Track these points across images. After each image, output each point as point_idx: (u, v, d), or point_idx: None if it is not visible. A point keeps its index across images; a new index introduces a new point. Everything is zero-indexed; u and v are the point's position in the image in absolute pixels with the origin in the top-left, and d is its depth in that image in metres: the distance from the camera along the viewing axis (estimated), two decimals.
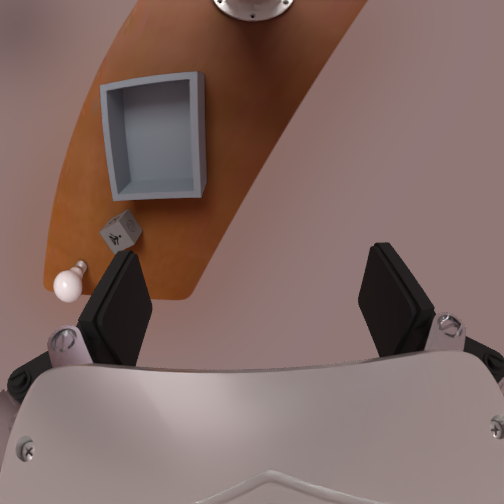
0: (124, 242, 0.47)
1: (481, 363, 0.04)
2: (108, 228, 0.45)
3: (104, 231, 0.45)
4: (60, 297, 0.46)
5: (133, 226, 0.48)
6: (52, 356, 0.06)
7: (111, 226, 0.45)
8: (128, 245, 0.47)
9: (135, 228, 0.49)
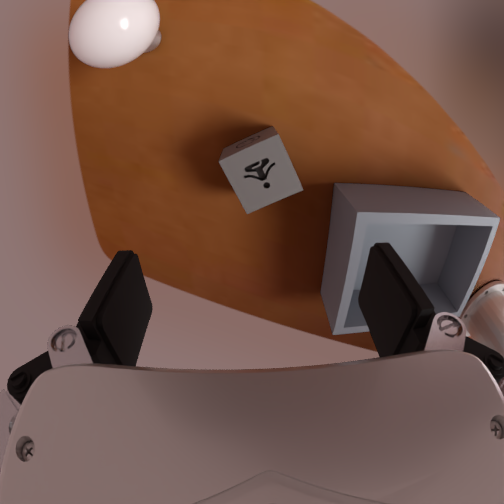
0: (251, 192, 0.23)
1: (481, 363, 0.04)
2: (287, 161, 0.21)
3: (280, 149, 0.21)
4: (88, 15, 0.10)
5: None
6: (52, 356, 0.06)
7: (292, 170, 0.22)
8: (243, 200, 0.23)
9: None
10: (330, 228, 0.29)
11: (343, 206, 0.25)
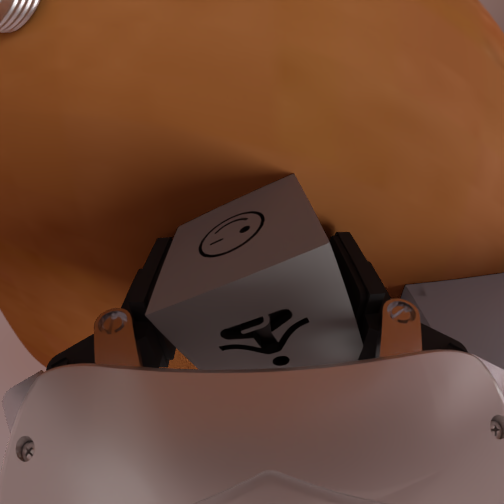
0: None
1: (481, 363, 0.04)
2: (344, 313, 0.07)
3: (331, 286, 0.07)
4: None
5: None
6: (101, 339, 0.07)
7: (351, 329, 0.08)
8: None
9: None
10: None
11: None
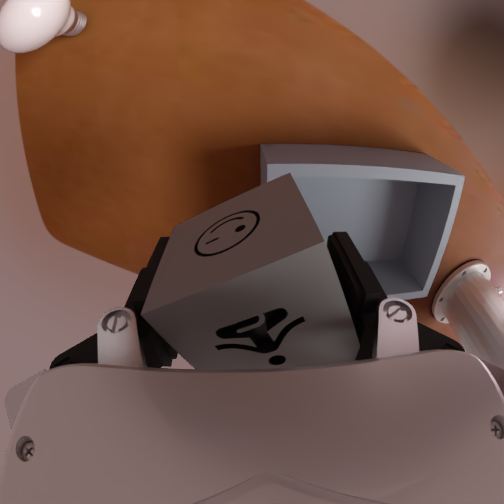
0: None
1: (481, 363, 0.04)
2: (340, 312, 0.07)
3: (326, 284, 0.07)
4: (5, 10, 0.07)
5: None
6: (105, 337, 0.07)
7: (347, 328, 0.08)
8: None
9: None
10: None
11: (263, 164, 0.23)
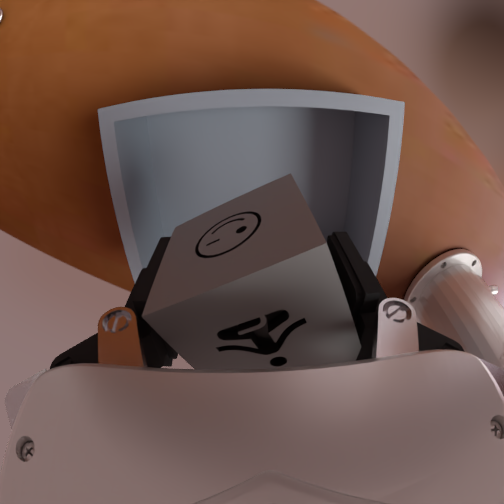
0: None
1: (481, 363, 0.04)
2: (341, 313, 0.07)
3: (328, 286, 0.07)
4: None
5: None
6: (106, 337, 0.07)
7: (349, 329, 0.08)
8: None
9: None
10: None
11: None
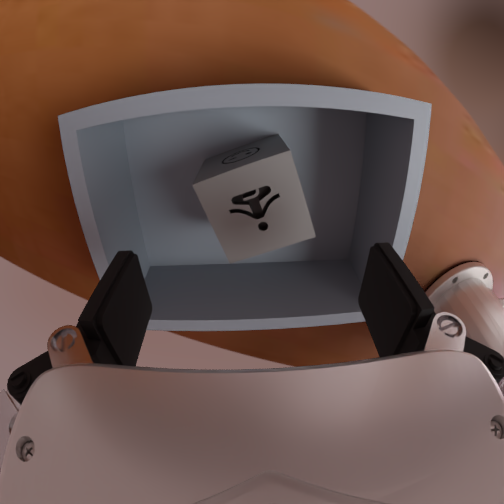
0: (238, 235, 0.15)
1: (481, 363, 0.04)
2: (298, 194, 0.14)
3: (290, 174, 0.14)
4: None
5: None
6: (52, 356, 0.06)
7: (303, 207, 0.14)
8: (226, 244, 0.16)
9: None
10: None
11: None
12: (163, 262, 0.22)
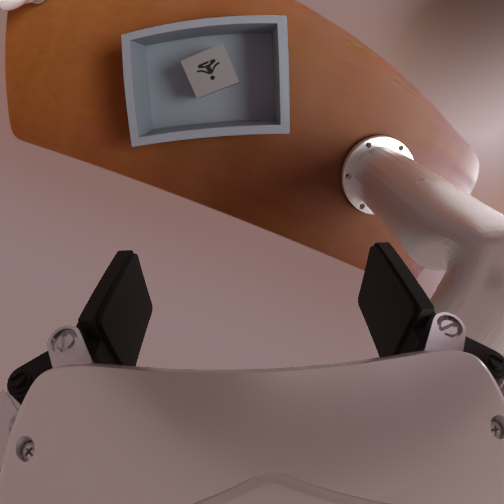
0: (201, 82, 0.27)
1: (481, 363, 0.04)
2: (228, 61, 0.26)
3: (224, 53, 0.25)
4: None
5: (216, 91, 0.30)
6: (52, 356, 0.06)
7: (231, 67, 0.26)
8: (195, 88, 0.27)
9: (212, 92, 0.30)
10: None
11: None
12: (161, 126, 0.34)
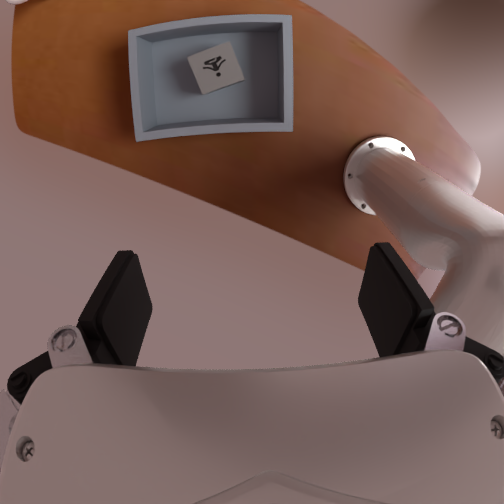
0: (206, 79, 0.27)
1: (481, 363, 0.04)
2: (234, 59, 0.26)
3: (230, 51, 0.25)
4: None
5: (221, 88, 0.30)
6: (52, 356, 0.06)
7: (237, 64, 0.26)
8: (200, 84, 0.27)
9: (217, 89, 0.31)
10: None
11: None
12: (165, 122, 0.34)
